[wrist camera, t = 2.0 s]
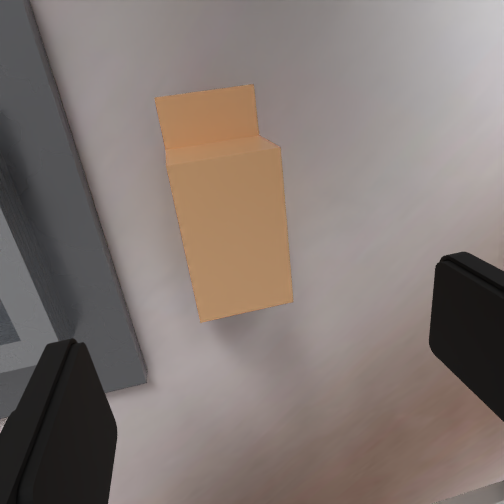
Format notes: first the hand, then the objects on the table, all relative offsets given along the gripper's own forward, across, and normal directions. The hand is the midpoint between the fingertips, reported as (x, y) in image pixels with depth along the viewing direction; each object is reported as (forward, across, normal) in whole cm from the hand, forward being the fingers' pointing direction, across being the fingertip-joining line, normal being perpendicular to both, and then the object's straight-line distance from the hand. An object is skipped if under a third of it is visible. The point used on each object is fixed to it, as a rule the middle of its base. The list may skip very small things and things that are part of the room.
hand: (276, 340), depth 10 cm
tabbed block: (+11, 0, -1) cm, 11 cm away
